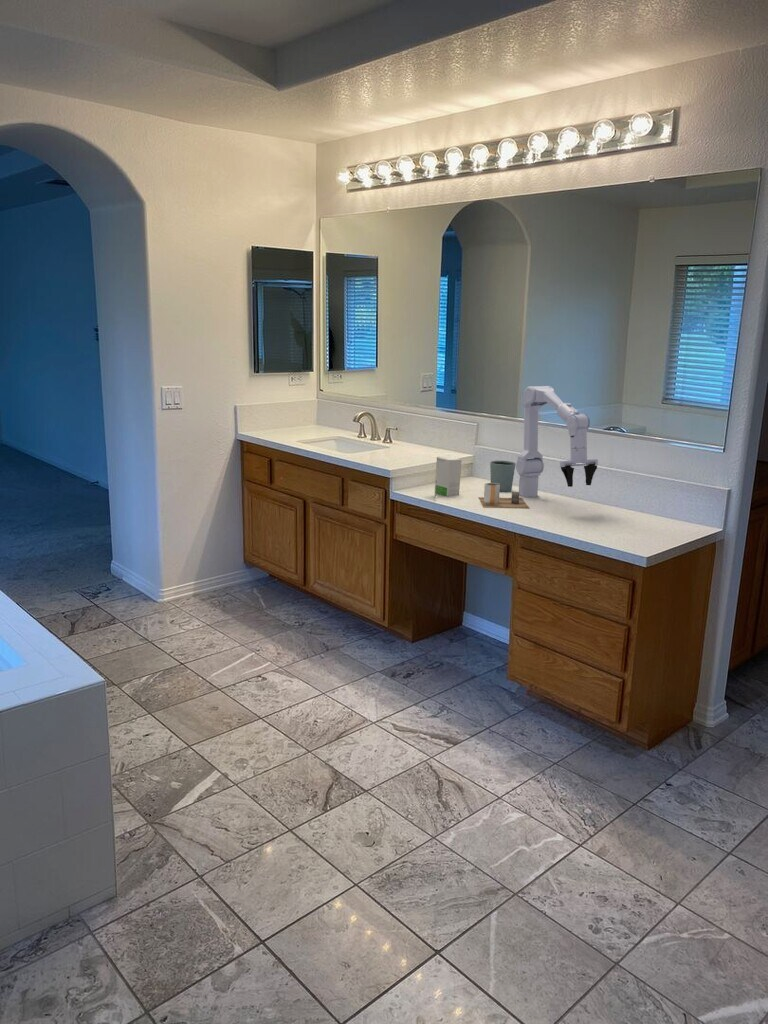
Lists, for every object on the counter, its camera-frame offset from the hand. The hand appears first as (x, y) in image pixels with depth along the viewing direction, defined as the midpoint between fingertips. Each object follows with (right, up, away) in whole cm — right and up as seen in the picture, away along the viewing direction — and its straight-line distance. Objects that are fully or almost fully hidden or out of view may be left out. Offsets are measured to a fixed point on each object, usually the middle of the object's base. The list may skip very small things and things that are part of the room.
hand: (579, 485), depth 289 cm
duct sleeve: (-30, -6, +14) cm, 33 cm away
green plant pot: (-22, -1, +40) cm, 45 cm away
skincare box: (-45, -3, +29) cm, 54 cm away
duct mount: (-25, -7, +14) cm, 30 cm away
